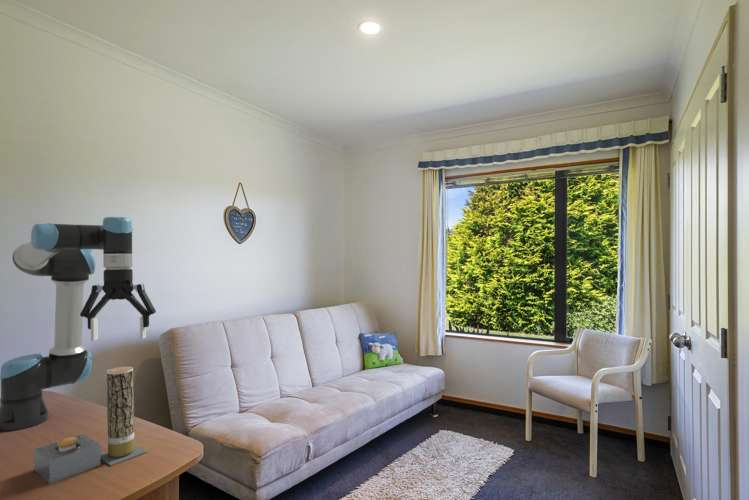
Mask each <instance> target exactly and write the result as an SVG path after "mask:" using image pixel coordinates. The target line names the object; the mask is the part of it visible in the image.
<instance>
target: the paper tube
mask: <svg viewBox="0 0 749 500" xmlns="http://www.w3.org/2000/svg"><path fill="white" fill-rule="evenodd" d="M134 389H135V387H134V367H133V366H118V367H113V368H110V369H108V370H106V397H107V399H106V404H107V406H106V407H107V408H106V409H107V410H106V412H107V451H108V455H109V456H110V457H114V458H117V457H123V456H126V455H128V454H130V453H132V452H133V450H134V445H135V405H134V404H135V403H134V402H135V401H134V400H135V399H134V398H135V397H134V396H135V395H134V394H135V393H134Z"/></svg>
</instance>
